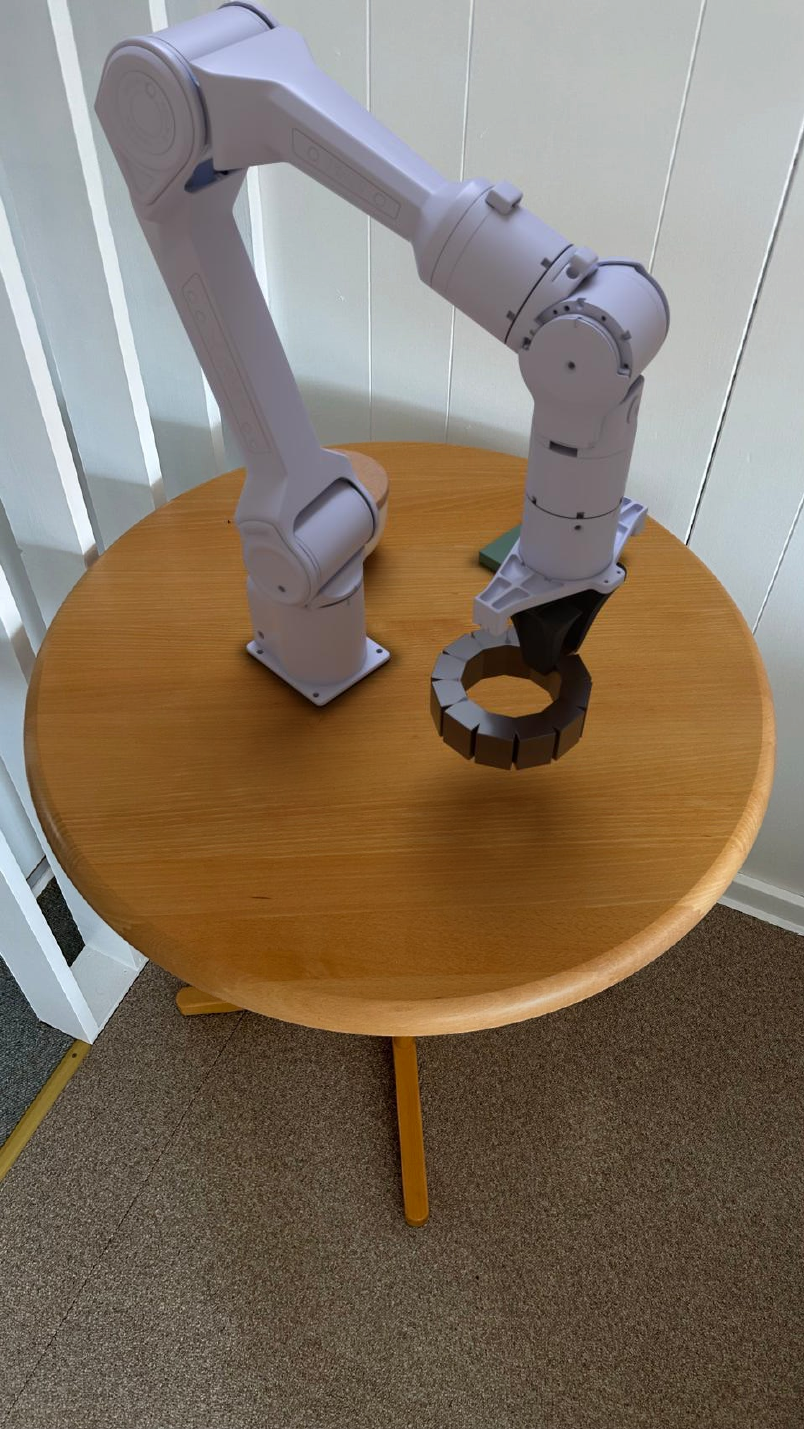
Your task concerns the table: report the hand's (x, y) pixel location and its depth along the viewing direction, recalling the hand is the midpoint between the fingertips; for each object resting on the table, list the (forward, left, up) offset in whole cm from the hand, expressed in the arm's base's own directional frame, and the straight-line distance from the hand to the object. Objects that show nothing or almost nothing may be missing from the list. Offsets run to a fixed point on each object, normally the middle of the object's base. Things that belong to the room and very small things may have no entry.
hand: (549, 657), depth 66 cm
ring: (0, -4, -2) cm, 5 cm away
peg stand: (-14, +18, -10) cm, 25 cm away
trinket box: (-29, +5, -10) cm, 31 cm away
